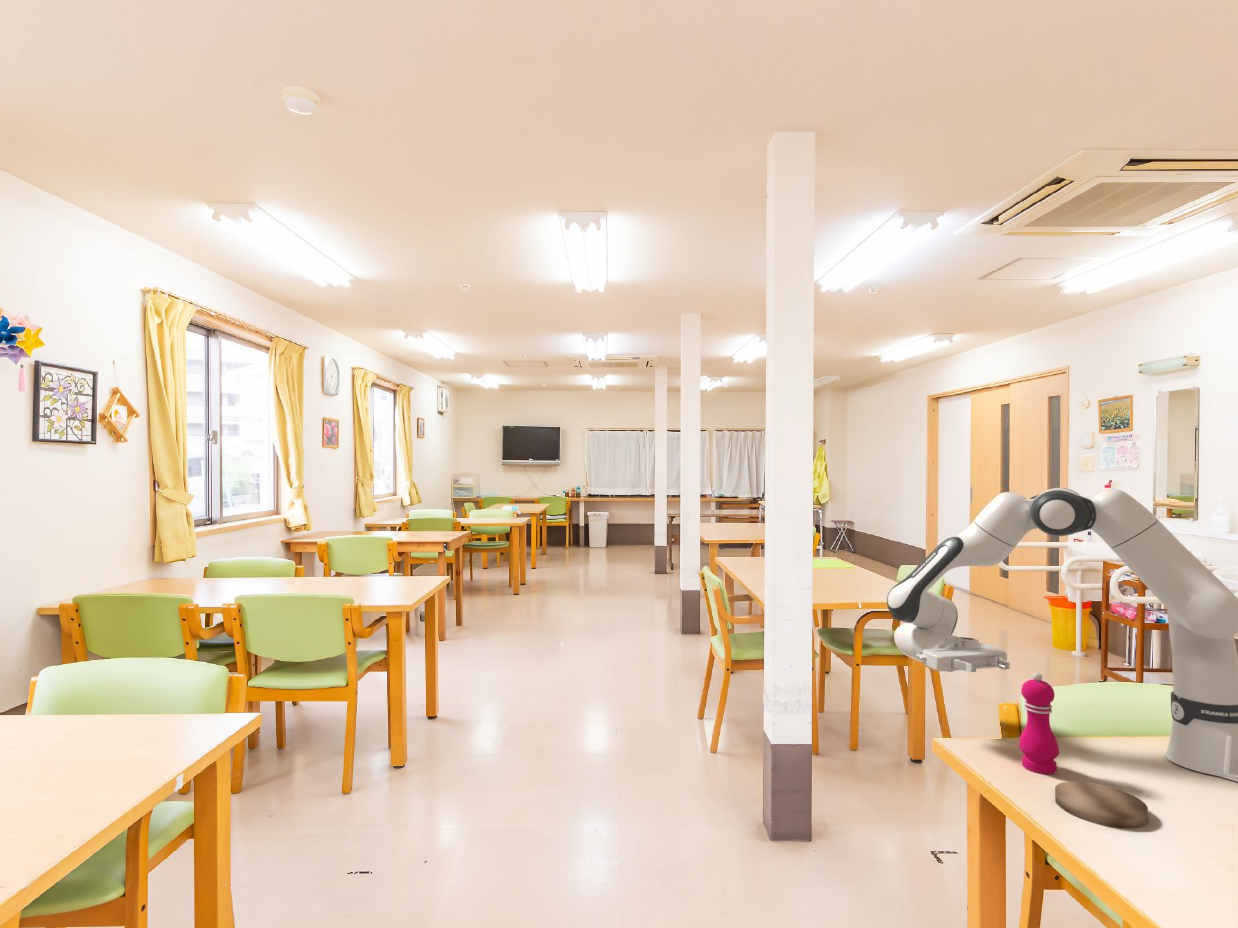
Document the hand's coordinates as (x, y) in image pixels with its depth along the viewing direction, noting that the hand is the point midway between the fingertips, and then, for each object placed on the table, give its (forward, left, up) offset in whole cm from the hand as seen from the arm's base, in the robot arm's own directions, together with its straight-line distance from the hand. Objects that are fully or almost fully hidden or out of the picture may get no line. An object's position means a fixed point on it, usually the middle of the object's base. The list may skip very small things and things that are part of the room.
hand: (990, 667), depth 156 cm
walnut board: (-7, +29, -18) cm, 35 cm away
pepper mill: (-5, +11, -18) cm, 22 cm away
